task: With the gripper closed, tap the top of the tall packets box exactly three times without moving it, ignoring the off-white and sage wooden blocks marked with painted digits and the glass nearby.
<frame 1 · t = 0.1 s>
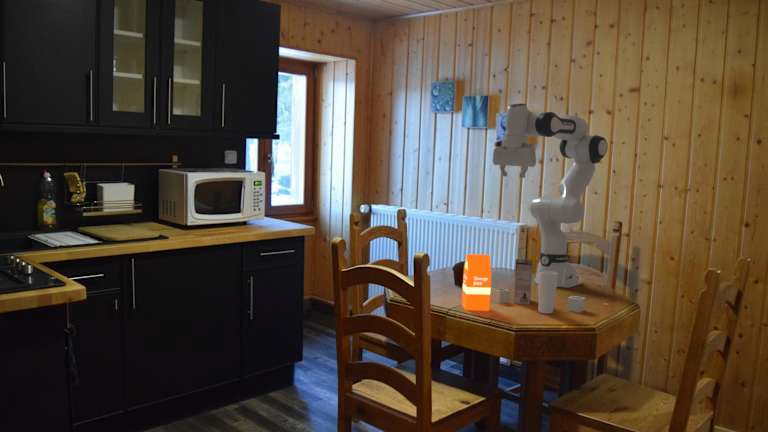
hand: (513, 177, 268), 48 cm above the table, tool pointing down, fingers open, 8 cm apart
digit block sage: (500, 302, 253), on the table
digit block offwhite: (575, 310, 244), on the table
drinking glass: (545, 313, 238), on the table
orange juice: (475, 308, 241), on the table
muffin: (464, 285, 283), on the table
coffee box: (521, 302, 255), on the table
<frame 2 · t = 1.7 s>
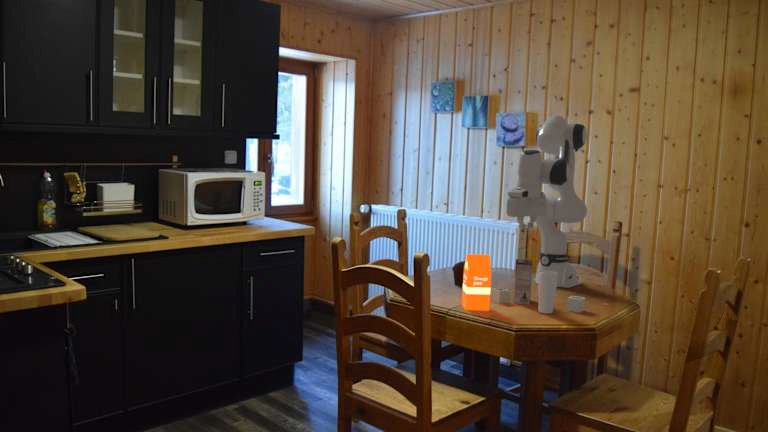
hand: (526, 227, 252), 29 cm above the table, tool pointing down, fingers open, 4 cm apart
nothing on the table moved.
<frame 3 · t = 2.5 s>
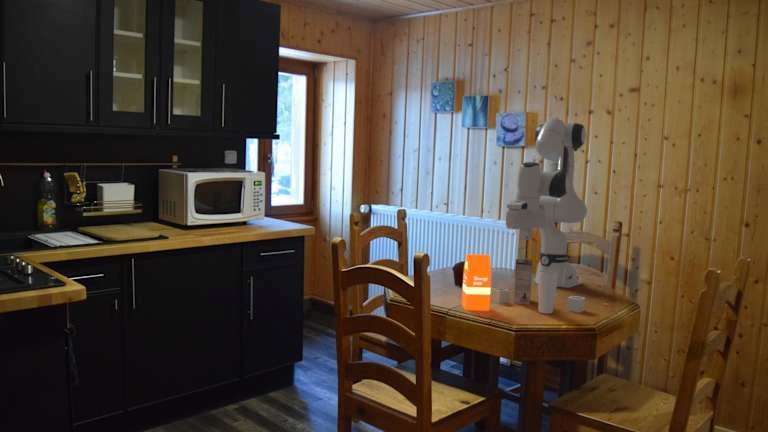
hand: (525, 239, 252), 24 cm above the table, tool pointing down, fingers closed
nothing on the table moved.
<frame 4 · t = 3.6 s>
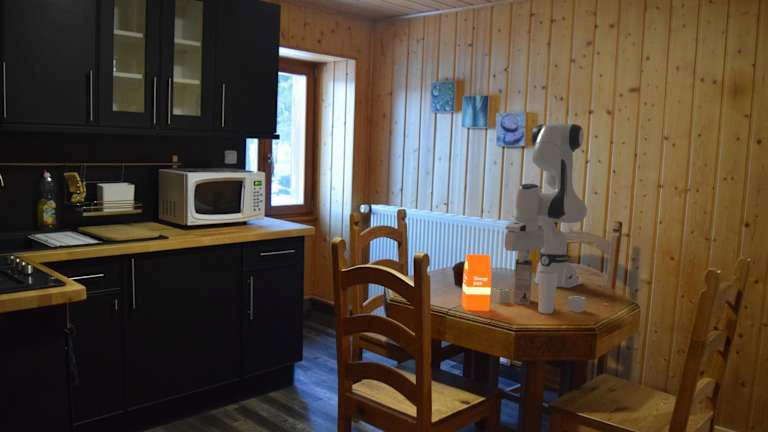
hand: (524, 261, 253), 16 cm above the table, tool pointing down, fingers closed, pressing on coffee box
coffee box: (521, 302, 255), on the table, touching gripper
everything else where it was.
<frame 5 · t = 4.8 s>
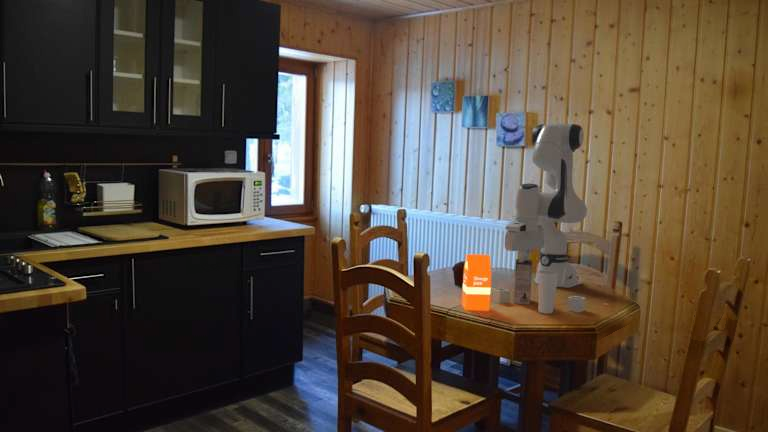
hand: (524, 261, 253), 16 cm above the table, tool pointing down, fingers closed, pressing on coffee box
coffee box: (521, 302, 255), on the table, touching gripper
everything else where it was.
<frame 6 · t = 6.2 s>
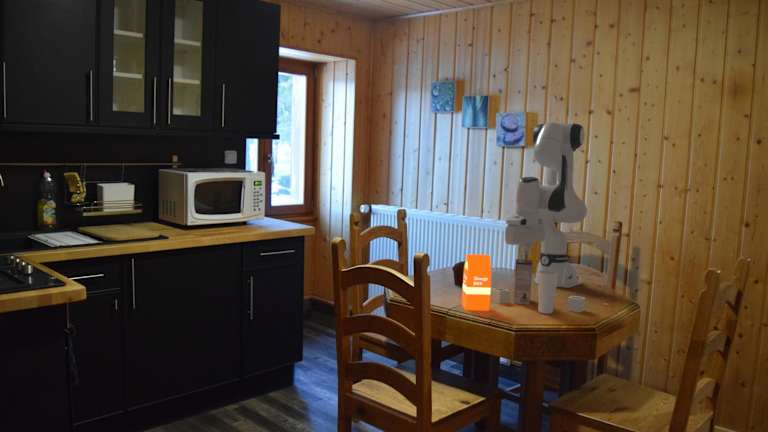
hand: (524, 254, 253), 19 cm above the table, tool pointing down, fingers closed
coffee box: (521, 302, 255), on the table
everything else where it was.
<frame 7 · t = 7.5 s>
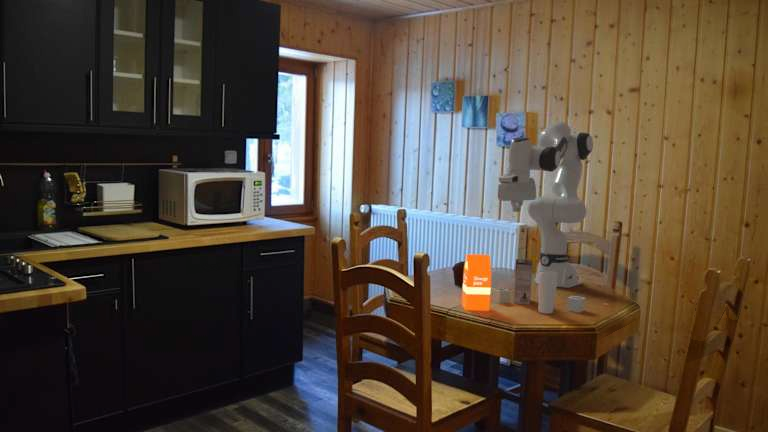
hand: (516, 211, 265), 34 cm above the table, tool pointing down, fingers closed
nothing on the table moved.
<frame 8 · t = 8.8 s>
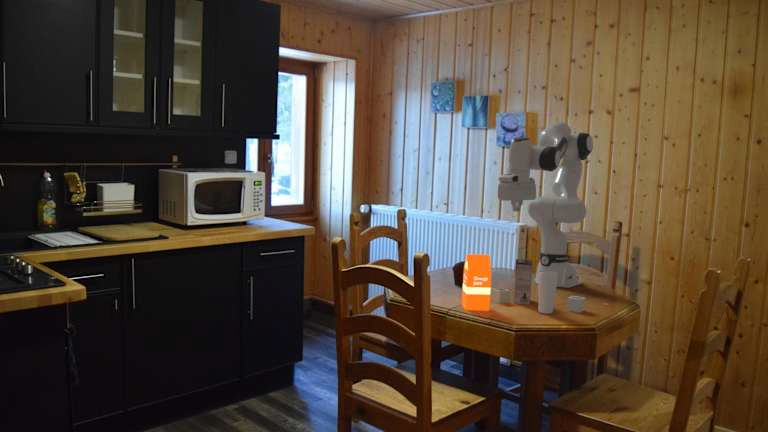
hand: (516, 211, 265), 34 cm above the table, tool pointing down, fingers closed
nothing on the table moved.
at the end: coffee box moved 0.2 cm from its start; coffee box tilted 0°; digit block sage moved 0.1 cm from its start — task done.
